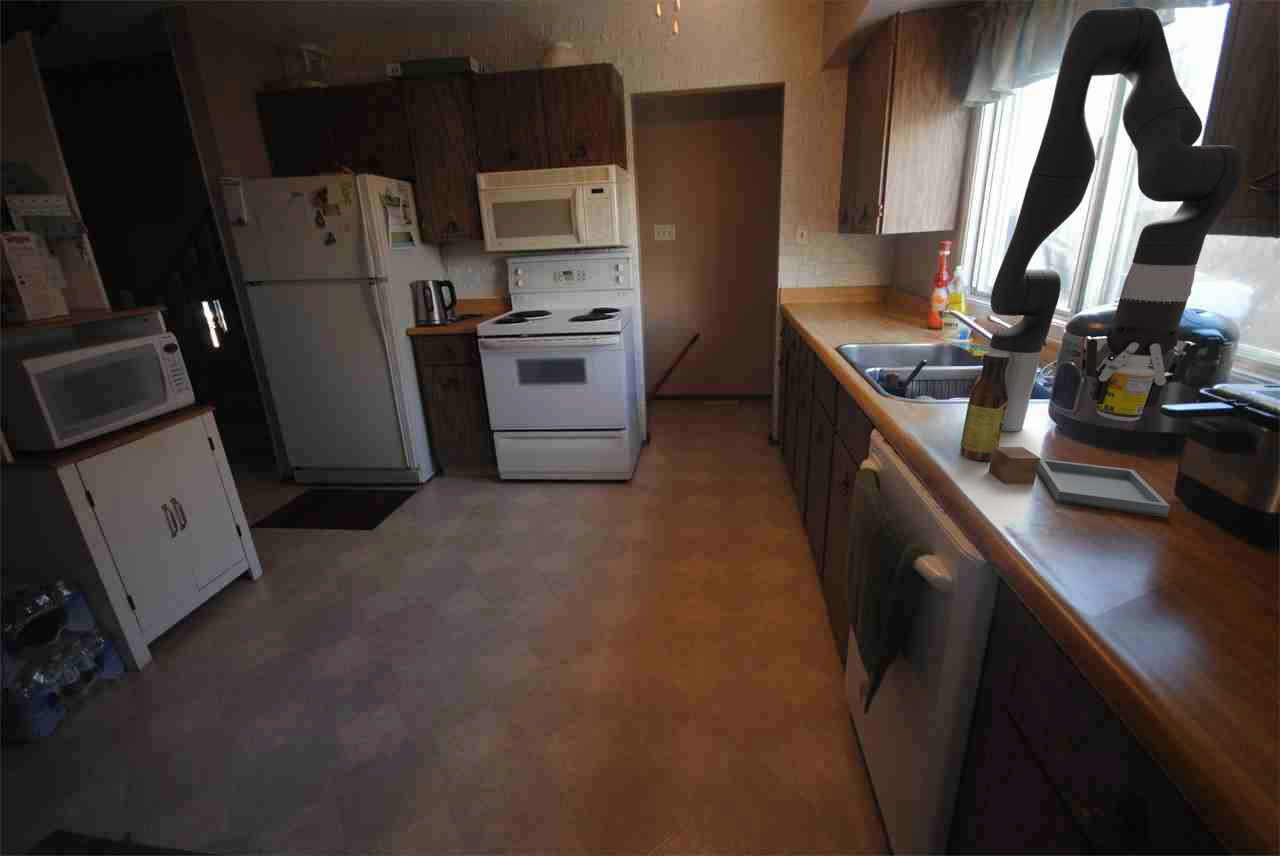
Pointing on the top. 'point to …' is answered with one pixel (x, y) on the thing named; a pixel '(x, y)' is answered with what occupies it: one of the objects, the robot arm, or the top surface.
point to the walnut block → (1014, 465)
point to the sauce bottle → (986, 409)
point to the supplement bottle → (1128, 389)
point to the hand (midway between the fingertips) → (1120, 404)
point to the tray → (1101, 488)
